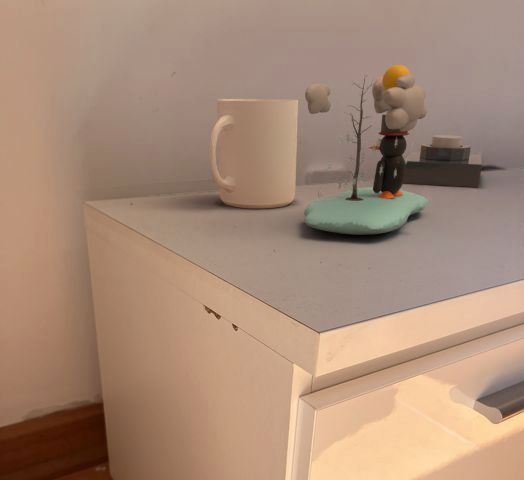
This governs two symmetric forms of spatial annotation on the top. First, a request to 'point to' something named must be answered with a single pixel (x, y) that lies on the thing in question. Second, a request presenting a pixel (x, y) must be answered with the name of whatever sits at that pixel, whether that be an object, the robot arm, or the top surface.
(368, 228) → the penguin figurine
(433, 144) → the flush button
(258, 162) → the mug
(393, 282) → the top surface
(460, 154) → the push button box
